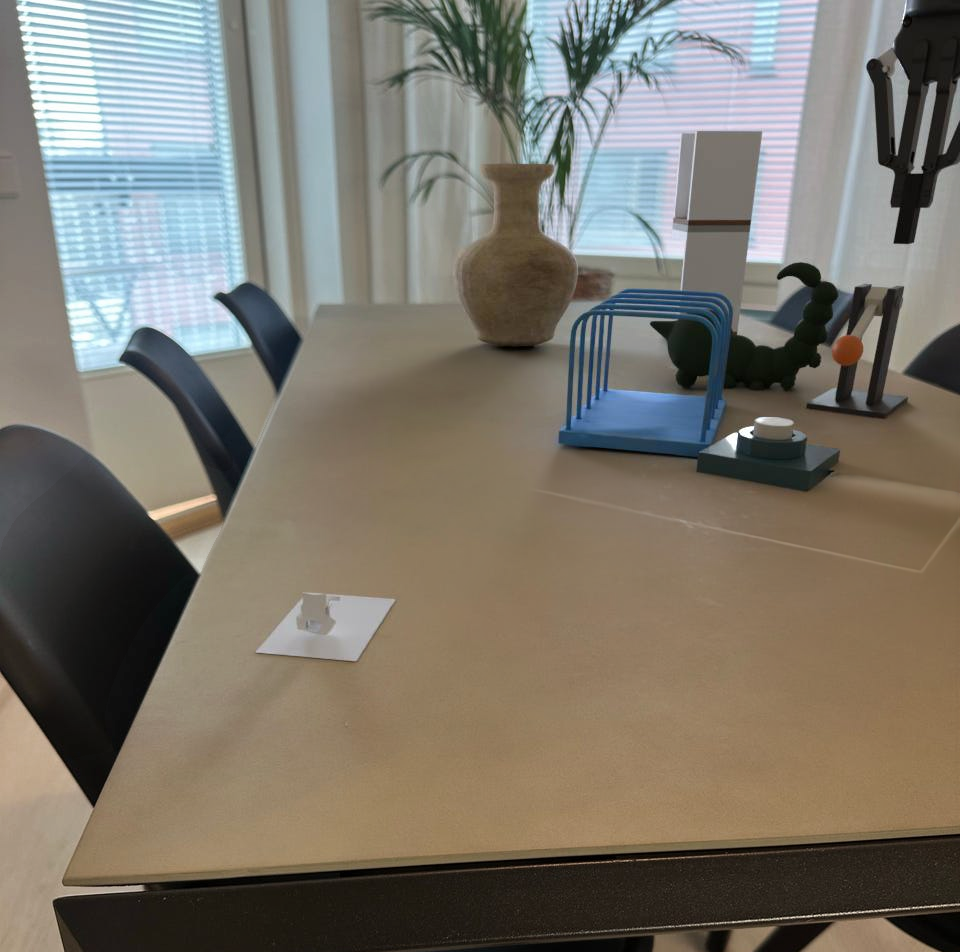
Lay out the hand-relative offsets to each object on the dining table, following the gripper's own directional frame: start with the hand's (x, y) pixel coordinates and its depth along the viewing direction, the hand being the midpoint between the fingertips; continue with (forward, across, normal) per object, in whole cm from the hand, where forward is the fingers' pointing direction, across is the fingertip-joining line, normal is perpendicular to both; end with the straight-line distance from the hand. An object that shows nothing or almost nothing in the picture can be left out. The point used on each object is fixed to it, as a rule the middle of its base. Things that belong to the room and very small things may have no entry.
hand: (903, 243), depth 95 cm
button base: (+22, -7, -14) cm, 27 cm away
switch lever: (+12, -6, +16) cm, 21 cm away
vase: (+22, -73, +38) cm, 85 cm away
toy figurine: (+22, -25, +23) cm, 41 cm away
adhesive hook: (+22, -20, -69) cm, 75 cm away
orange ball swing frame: (+22, -6, +20) cm, 30 cm away
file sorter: (+22, -25, -5) cm, 34 cm away
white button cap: (+19, -7, -14) cm, 24 cm away
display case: (+22, -47, +65) cm, 83 cm away
